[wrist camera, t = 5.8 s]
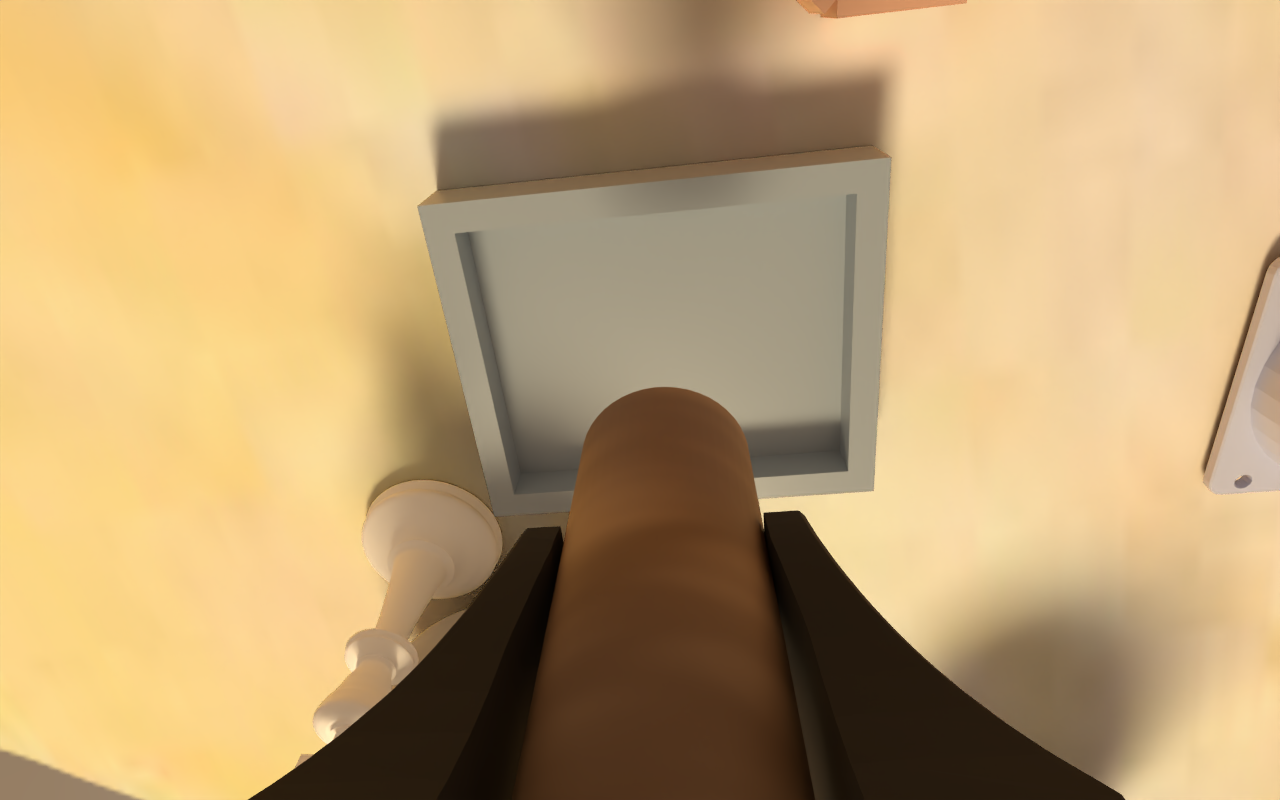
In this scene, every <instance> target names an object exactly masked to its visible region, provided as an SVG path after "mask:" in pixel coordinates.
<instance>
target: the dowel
mask: <svg viewBox="0 0 1280 800" xmlns="http://www.w3.org/2000/svg"><path fill="white" fill-rule="evenodd" d="M512 800H815V796H814V790H813V785H812V780H811V775H810V769H809V764H808V759H807V754H806V748H805V743H804V738H803V733H802V727H801V722H800V717H799V712H798V706H797V701H796V696H795V691H794V685H793V680H792V675H791V670H790V665H789V659H788V654H787V649H786V644H785V638H784V633H783V628H782V623H781V617H780V612H779V607H778V602H777V596H776V591H775V586H774V581H773V575H772V570H771V565H770V560H769V554H768V549H767V544H766V539H765V533H764V528H763V523H762V518H761V512H760V507H759V502H758V497H757V491H756V486H755V481H754V476H753V470H752V465H751V460H750V455H749V449H748V444H747V441H746V438H745V435H744V433H743V431H742V429H741V427H740V425H739V424H738V422H737V421H736V419H735V418H734V417H733V416H732V415H731V414H730V413H729V412H728V411H727V410H726V409H725V408H724V407H723V406H721V405H720V404H719V403H717V402H716V401H714V400H713V399H711V398H709V397H707V396H705V395H703V394H700V393H698V392H695V391H691V390H688V389H682V388H677V387H654V388H648V389H642V390H639V391H636V392H632V393H630V394H628V395H626V396H623V397H621V398H620V399H618V400H616V401H615V402H613V403H612V404H610V405H609V406H608V407H607V408H605V409H604V410H603V411H602V412H601V413H600V414H599V415H598V416H597V418H596V419H595V420H594V422H593V423H592V425H591V427H590V428H589V430H588V432H587V435H586V438H585V441H584V444H583V449H582V454H581V459H580V464H579V469H578V474H577V479H576V484H575V489H574V494H573V499H572V504H571V509H570V513H569V518H568V523H567V528H566V533H565V538H564V543H563V548H562V553H561V558H560V563H559V568H558V573H557V578H556V583H555V588H554V593H553V598H552V603H551V608H550V612H549V617H548V622H547V627H546V632H545V637H544V642H543V647H542V652H541V657H540V662H539V667H538V672H537V677H536V682H535V687H534V692H533V697H532V702H531V707H530V711H529V716H528V721H527V726H526V731H525V736H524V741H523V746H522V751H521V756H520V761H519V766H518V771H517V776H516V781H515V786H514V791H513V796H512Z"/></svg>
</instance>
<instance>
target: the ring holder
mask: <svg viewBox="0 0 1280 800" xmlns="http://www.w3.org/2000/svg"><path fill="white" fill-rule="evenodd" d="M796 1H797V2H798V3H799V4H800V5H801V6H802V7H803V8H804V9H805V10H806V11H807V12H808V13H813V14H821V17H825V18H844V17H852V16H861V15H869V14H878V13H886V12H895V11H903V10H912V9H920V8H929V7H937V6H946V5H954V4H963V3H967V0H796Z"/></svg>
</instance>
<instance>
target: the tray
mask: <svg viewBox="0 0 1280 800" xmlns="http://www.w3.org/2000/svg"><path fill="white" fill-rule="evenodd" d="M890 171H891V157H890V156H888V155H887V154H885V153H884V152H882V151H881V150H879V149H878V148H876V147H875V146H873V145H871V146H861V147H852V148H842V149H833V150H823V151H813V152H804V153H794V154H784V155H775V156H765V157H756V158H746V159H736V160H727V161H717V162H708V163H698V164H688V165H679V166H669V167H660V168H650V169H640V170H631V171H621V172H612V173H602V174H592V175H583V176H573V177H563V178H554V179H544V180H535V181H525V182H515V183H506V184H496V185H487V186H477V187H467V188H458V189H448V190H439V191H436V192H434V193H433V194H432V195H431V196H429V197H428V198H427V199H426V200H424V201H423V202H422V203H421V204H419V205H418V206H417V207H418V211H419V215H420V219H421V223H422V227H423V231H424V235H425V239H426V243H427V247H428V251H429V255H430V259H431V263H432V267H433V271H434V275H435V279H436V283H437V287H438V291H439V295H440V299H441V304H442V308H443V312H444V316H445V320H446V324H447V328H448V332H449V336H450V340H451V344H452V348H453V352H454V356H455V360H456V364H457V368H458V372H459V376H460V380H461V384H462V388H463V392H464V396H465V400H466V404H467V408H468V412H469V416H470V420H471V424H472V428H473V432H474V437H475V441H476V445H477V449H478V453H479V457H480V461H481V465H482V469H483V473H484V477H485V481H486V485H487V489H488V493H489V497H490V501H491V505H492V509H493V513H494V517H499V516H514V515H529V514H543V513H558V512H570V509H571V504H572V499H573V494H574V489H575V484H576V479H577V474H578V469H579V464H580V459H581V454H582V449H583V444H584V441H585V438H586V435H587V432H588V430H589V428H590V427H591V425H592V423H593V422H594V420H595V419H596V418H597V416H598V415H599V414H600V413H601V412H602V411H603V410H604V409H605V408H607V407H608V406H609V405H610V404H612V403H613V402H615V401H616V400H618V399H620V398H621V397H623V396H626V395H628V394H630V393H632V392H636V391H639V390H642V389H648V388H654V387H677V388H682V389H688V390H691V391H695V392H698V393H700V394H703V395H705V396H707V397H709V398H711V399H713V400H714V401H716V402H717V403H719V404H720V405H721V406H723V407H724V408H725V409H726V410H727V411H728V412H729V413H730V414H731V415H732V416H733V417H734V418H735V419H736V421H737V422H738V424H739V425H740V427H741V429H742V431H743V433H744V435H745V438H746V441H747V444H748V449H749V455H750V460H751V465H752V470H753V476H754V481H755V486H756V491H757V497H758V499H764V498H779V497H793V496H808V495H823V494H838V493H852V492H867V491H874V475H875V456H876V437H877V418H878V399H879V380H880V361H881V342H882V323H883V304H884V285H885V266H886V247H887V228H888V209H889V190H890Z"/></svg>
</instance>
